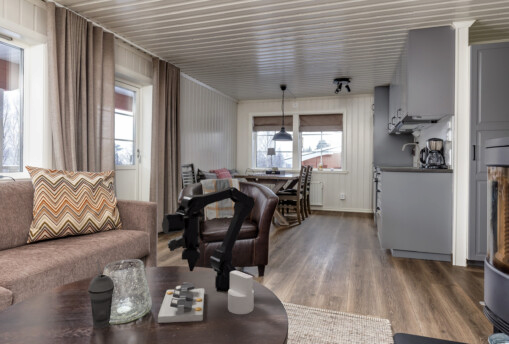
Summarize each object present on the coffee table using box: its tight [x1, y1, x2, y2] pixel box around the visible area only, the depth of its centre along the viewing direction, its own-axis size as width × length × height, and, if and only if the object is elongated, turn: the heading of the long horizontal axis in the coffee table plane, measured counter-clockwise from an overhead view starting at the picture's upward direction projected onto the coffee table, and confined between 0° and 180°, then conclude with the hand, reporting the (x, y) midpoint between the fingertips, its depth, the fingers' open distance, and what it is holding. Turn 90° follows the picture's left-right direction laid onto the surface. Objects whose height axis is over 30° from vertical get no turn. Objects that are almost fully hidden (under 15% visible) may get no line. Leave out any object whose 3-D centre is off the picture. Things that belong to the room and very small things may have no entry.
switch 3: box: [170, 298, 193, 311], centre depth 105 cm, size 7×4×1 cm, turn 98°
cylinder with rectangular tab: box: [227, 270, 255, 315], centre depth 111 cm, size 9×9×12 cm
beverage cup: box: [88, 260, 115, 330], centre depth 98 cm, size 7×7×20 cm
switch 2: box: [173, 289, 194, 301], centre depth 112 cm, size 7×4×1 cm, turn 98°
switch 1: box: [174, 282, 196, 291], centre depth 119 cm, size 7×4×1 cm, turn 97°
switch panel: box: [157, 282, 205, 324], centre depth 112 cm, size 14×21×5 cm, turn 8°
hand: (191, 270), depth 119 cm, fingers closed
